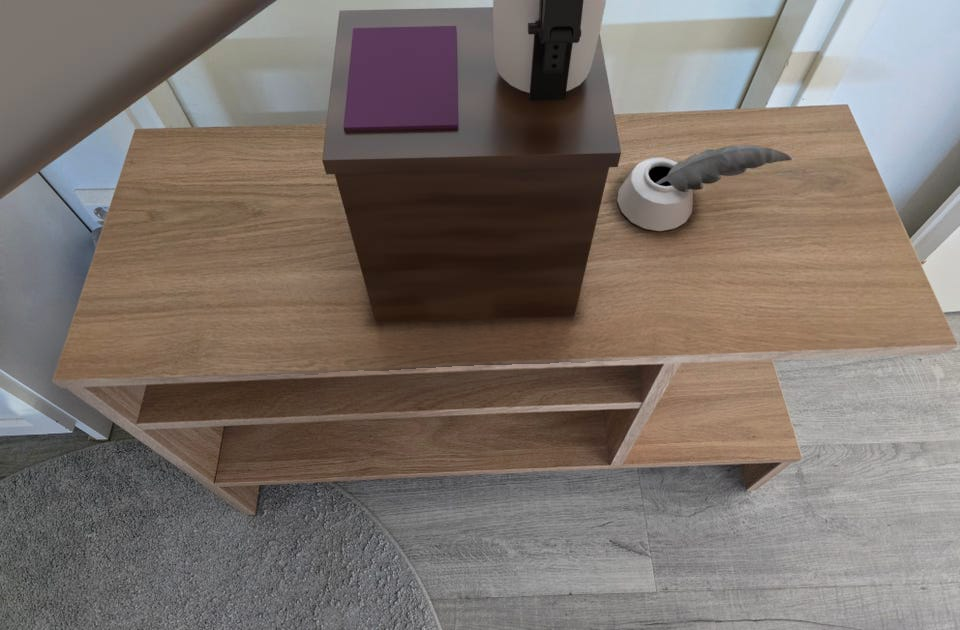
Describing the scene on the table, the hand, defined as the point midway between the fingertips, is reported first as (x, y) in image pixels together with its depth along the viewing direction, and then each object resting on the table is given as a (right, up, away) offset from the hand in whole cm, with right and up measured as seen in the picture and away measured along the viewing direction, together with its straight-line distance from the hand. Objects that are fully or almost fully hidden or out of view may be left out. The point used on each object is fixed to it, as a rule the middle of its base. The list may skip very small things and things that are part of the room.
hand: (543, 57), depth 55 cm
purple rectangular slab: (-12, -1, +1) cm, 12 cm away
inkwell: (+21, -7, +28) cm, 35 cm away
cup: (0, -1, +2) cm, 2 cm away
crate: (-6, -14, +24) cm, 28 cm away
